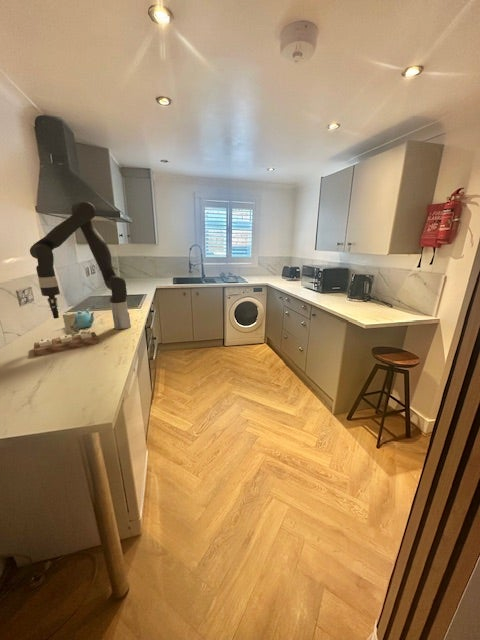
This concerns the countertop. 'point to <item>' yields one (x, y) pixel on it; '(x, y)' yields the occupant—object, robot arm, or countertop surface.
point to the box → (70, 323)
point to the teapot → (84, 319)
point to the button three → (85, 335)
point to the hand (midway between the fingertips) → (56, 316)
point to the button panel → (65, 344)
